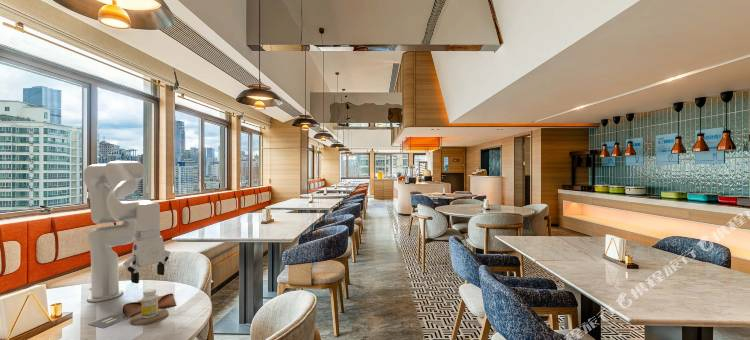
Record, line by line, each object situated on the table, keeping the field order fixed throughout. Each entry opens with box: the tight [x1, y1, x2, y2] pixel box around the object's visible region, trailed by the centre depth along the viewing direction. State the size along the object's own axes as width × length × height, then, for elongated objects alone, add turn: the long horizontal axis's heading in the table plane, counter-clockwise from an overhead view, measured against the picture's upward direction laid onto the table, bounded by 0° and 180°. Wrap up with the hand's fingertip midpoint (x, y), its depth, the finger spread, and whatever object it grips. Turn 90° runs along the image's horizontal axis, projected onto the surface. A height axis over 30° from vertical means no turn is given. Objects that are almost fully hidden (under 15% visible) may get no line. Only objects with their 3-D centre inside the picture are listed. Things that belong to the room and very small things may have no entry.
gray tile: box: [87, 313, 131, 329], centre depth 123 cm, size 9×9×1 cm
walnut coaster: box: [129, 308, 169, 326], centre depth 125 cm, size 12×12×1 cm
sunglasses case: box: [122, 293, 177, 319], centre depth 134 cm, size 18×7×7 cm
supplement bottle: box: [140, 288, 159, 318], centre depth 126 cm, size 5×5×10 cm
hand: (148, 278), depth 126 cm, fingers open, 9 cm apart
